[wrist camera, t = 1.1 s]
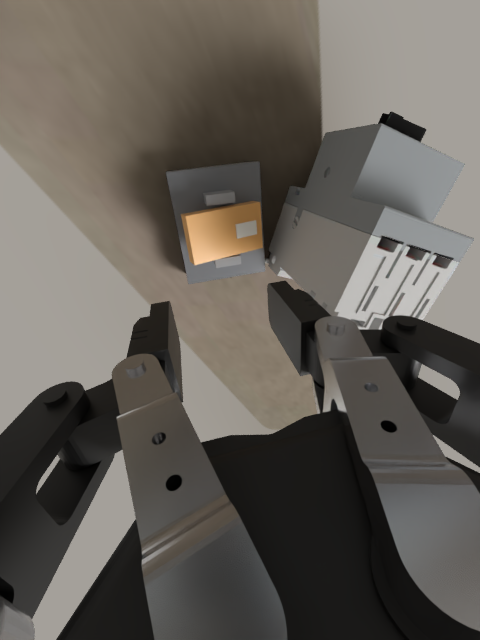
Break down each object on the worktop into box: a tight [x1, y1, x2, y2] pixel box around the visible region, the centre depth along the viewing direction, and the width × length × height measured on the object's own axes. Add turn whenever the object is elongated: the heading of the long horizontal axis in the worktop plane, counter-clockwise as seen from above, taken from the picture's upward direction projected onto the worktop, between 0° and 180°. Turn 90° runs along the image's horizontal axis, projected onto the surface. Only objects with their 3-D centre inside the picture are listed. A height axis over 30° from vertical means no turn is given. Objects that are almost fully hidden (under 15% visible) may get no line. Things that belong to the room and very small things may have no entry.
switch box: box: [166, 161, 265, 284], centre depth 27 cm, size 10×8×5 cm
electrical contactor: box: [265, 112, 474, 329], centre depth 24 cm, size 8×14×15 cm, turn 164°
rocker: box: [181, 201, 263, 265], centre depth 25 cm, size 4×7×2 cm, turn 96°
